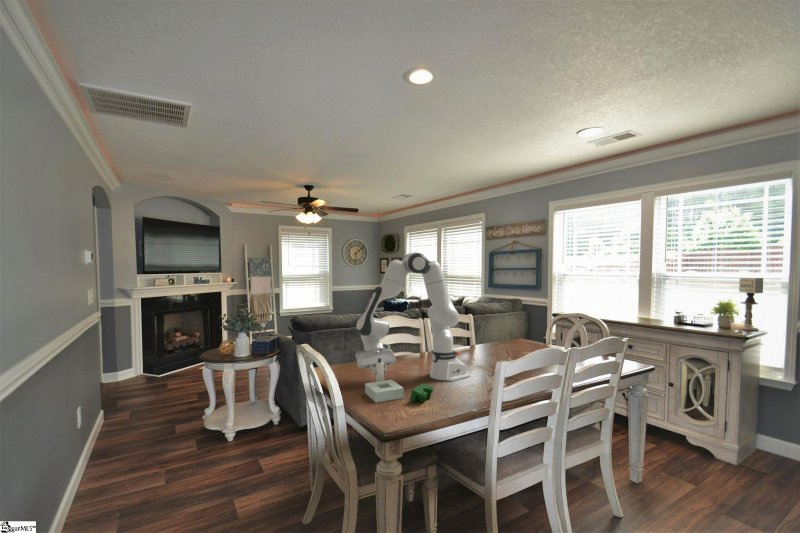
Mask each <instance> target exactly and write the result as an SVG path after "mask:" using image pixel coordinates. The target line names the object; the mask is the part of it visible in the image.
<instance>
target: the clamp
mask: <svg viewBox="0 0 800 533" xmlns="http://www.w3.org/2000/svg"><path fill="white" fill-rule="evenodd" d="M434 389H435V388H434V387H433V386H431V385H430V384H427V383H425V382H422V383H421V384H419V385H417V386H416V387H414V388H413V389H411V394H410V399H409V401H411V402H413V403H416V402H418V401H420V402H422V403H426V399H428V400H430V399H431V396H432V393H434Z"/></svg>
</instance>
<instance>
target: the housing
mask: <svg viewBox="0 0 800 533" xmlns="http://www.w3.org/2000/svg"><path fill="white" fill-rule="evenodd" d="M364 393H365V394H366V395H367V397H368V398H370V399H371V400H372V401H373V402H374V403H376V404H377V403H380V402H381V403H382V402H388V401H393V400H399V399H400V400H401V399H404V398H405V389H404V387H403V386H402V385H400V384H399V383H397V382H396V381H395V380H394V379H387V380H385V379H384V381H378V382H376V381H371V382H365V383H364Z"/></svg>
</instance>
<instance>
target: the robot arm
mask: <svg viewBox="0 0 800 533" xmlns="http://www.w3.org/2000/svg"><path fill="white" fill-rule="evenodd" d="M408 274H419V275H420V274H421V276H422V278H423V281H424V286H425V289H426V290H425V291H426V294H427V297H428V300H429V301H430V302H431V306H429V307H428V309H427V316H428V319H429V324H430V328H431V335H432V336H431V337H432V350H431V368H430V374H429V377H430V378H431V379H432V380H433V379H434V380H437V381H448V382H455V381H458V380H462V379H466V378H470V377H471V373H470V372H469V371H467V366H466V364H465V363H464V362H463V361H462V360H460V359H459V358H458V357H456V356H460V351H455V350H454V336H453V333H452V331H451V328H453V327H455V326H457V325H458V323H459V321H460V314H459V312H458V311H457V309H456V307H455V306H454V303H453V300H452V299H451V296H450V294H449V291H448V288H447V283H446V279H445V274H444V272H443V270H442V267H441V265H440V262H438V261H436V260H429V259H428V258H427V257H426V256H425V255H424V254H423V253H421V252H410V253H407V254H406V255H404V256H403V258H401V259H399V260H397V259H395V260H391V261H390V262H389V264H388V266H387V268H386V270H385V273H384V275H383V278H382V281H381V282H380V284H379V285H378V286H377V287H375V288H374V289H373V291H372V292H371V294H370V296H369V298H368V300H367V303H366V304H365V307H364V309H363V311H362V313H361V315H360V316H359V318H358V319H357V320H356V324H355V328H356V331H357V333H358V334H359V335H360V339H361V342H362V343H363V348H364V350H361V351H360V350H358V351H357V352H355V355H354V356H355V359H356V363H357V364H356V365H357V368H358V369H360V370H363V369H369V371H371V373H372V375H373V376H376V374H377V372H376V369H374V368H376V362H378V358H381V361H382V362H384V374H387V373H388V369H387V367H388V366H393V365H394V364H396V362H397V359H396V355H395V353H394V351H393V350H392V349H391V345H390V344H387V343H382V342H380V340H382V339H384V338H385V337H386V336H387V335H388V334H389V332H390V324H389V321H388V320H386V319H383V318H377V317H373V316H374V314H375V312H376V310H377V309H378V307H379V306H378V305H379V304H380V303H381V302H382V301H384V300H387V299H392V298H395V297H397V296H398V295H400V293H401V291H402V289H403V286H404V283H405V279H406V277H407V276H408Z"/></svg>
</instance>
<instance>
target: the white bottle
mask: <svg viewBox="0 0 800 533" xmlns="http://www.w3.org/2000/svg"><path fill="white" fill-rule="evenodd" d="M384 368H385V367H384V362H382V361H381V358H378V362H376V367H375V370H376V372H377V374H376V375H375V382H378V381H385V373H384Z"/></svg>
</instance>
